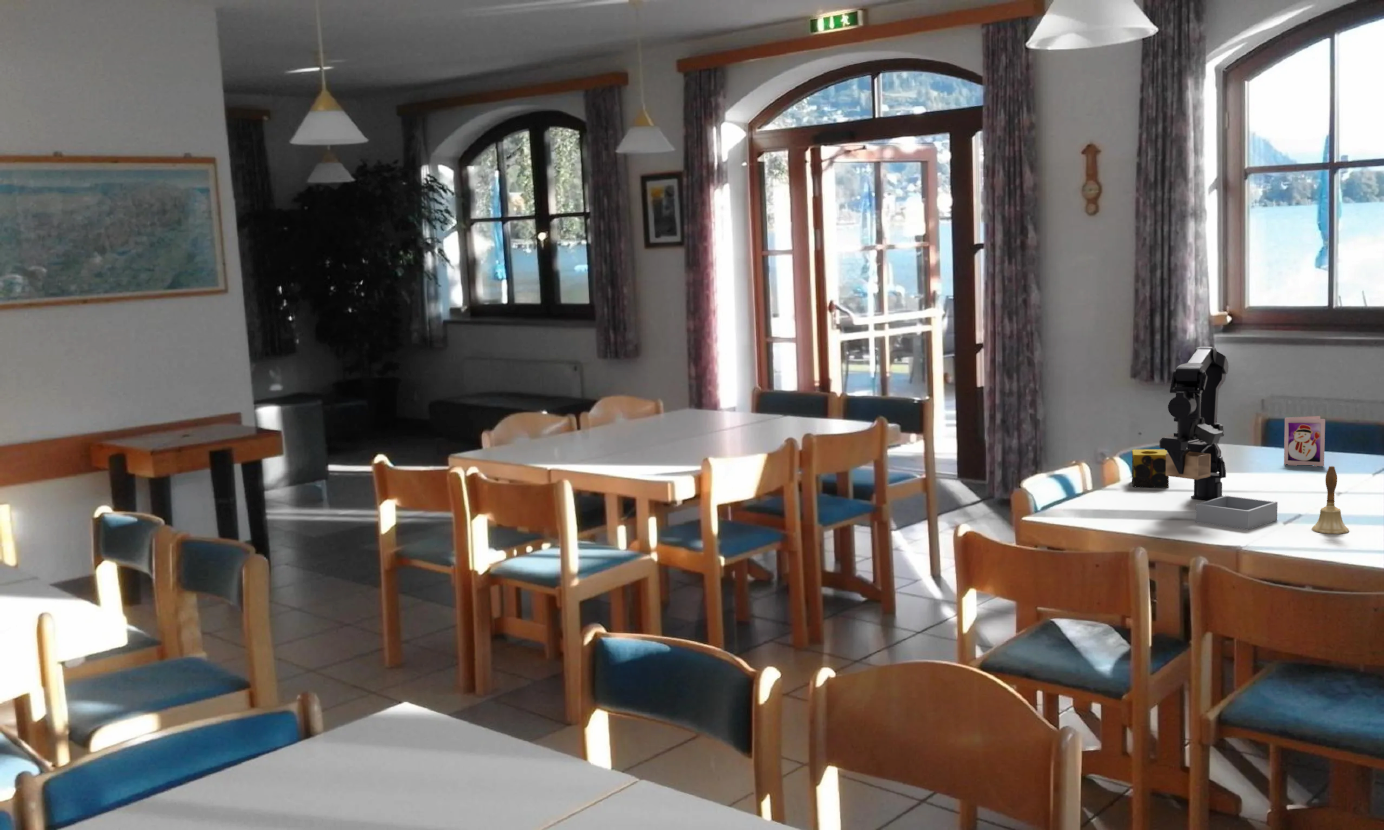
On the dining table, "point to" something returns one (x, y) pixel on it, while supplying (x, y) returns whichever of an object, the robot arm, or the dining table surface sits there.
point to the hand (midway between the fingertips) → (1188, 472)
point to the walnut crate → (1191, 466)
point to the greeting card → (1304, 441)
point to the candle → (1149, 468)
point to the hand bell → (1330, 509)
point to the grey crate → (1236, 512)
